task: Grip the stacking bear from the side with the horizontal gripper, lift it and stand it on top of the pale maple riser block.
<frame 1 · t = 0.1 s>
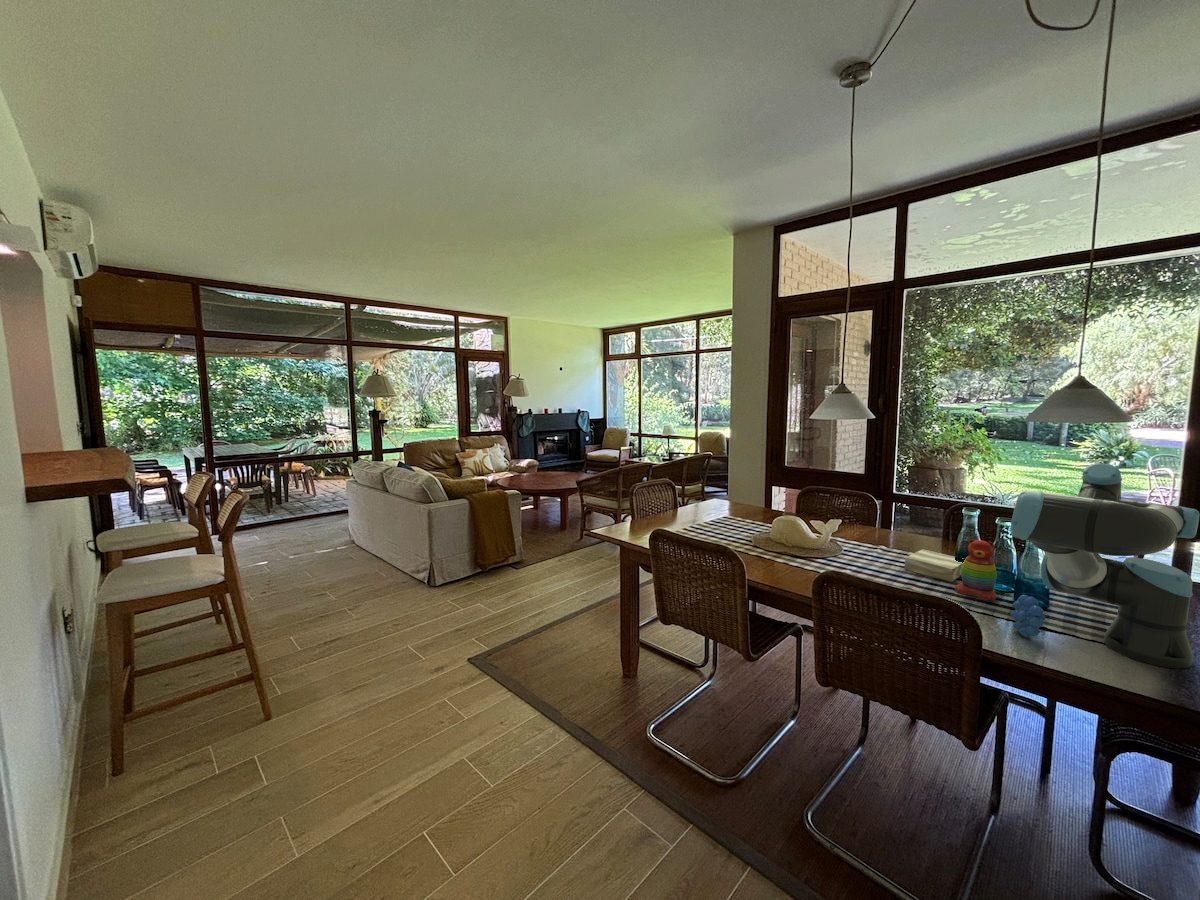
hand: (1104, 557, 151), 15 cm above the table, tool tilted 35°, fingers open, 13 cm apart
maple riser: (935, 571, 182), on the table
stacking bear: (976, 593, 162), on the table
grapes: (1028, 637, 134), on the table
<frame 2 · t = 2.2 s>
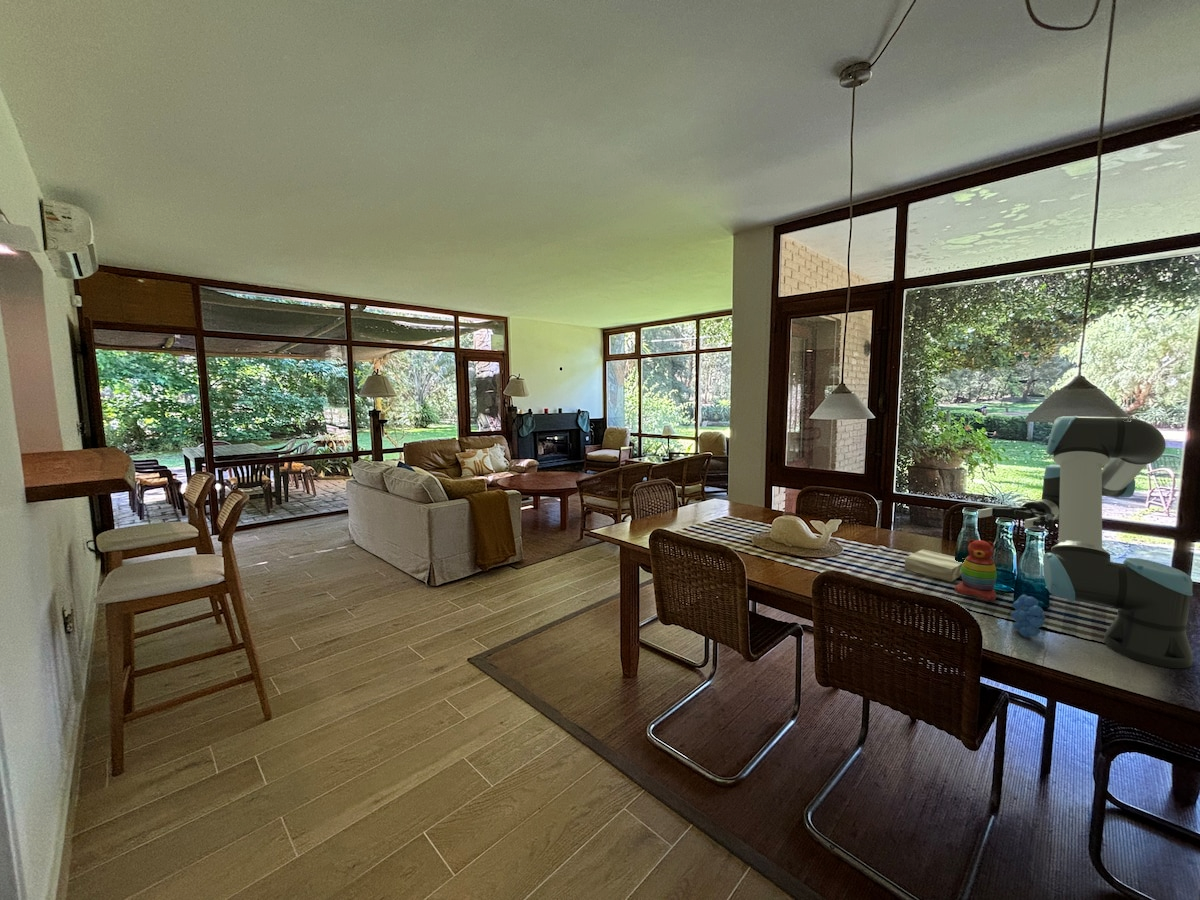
hand: (1001, 518, 163), 24 cm above the table, tool horizontal, fingers open, 13 cm apart
nothing on the table moved.
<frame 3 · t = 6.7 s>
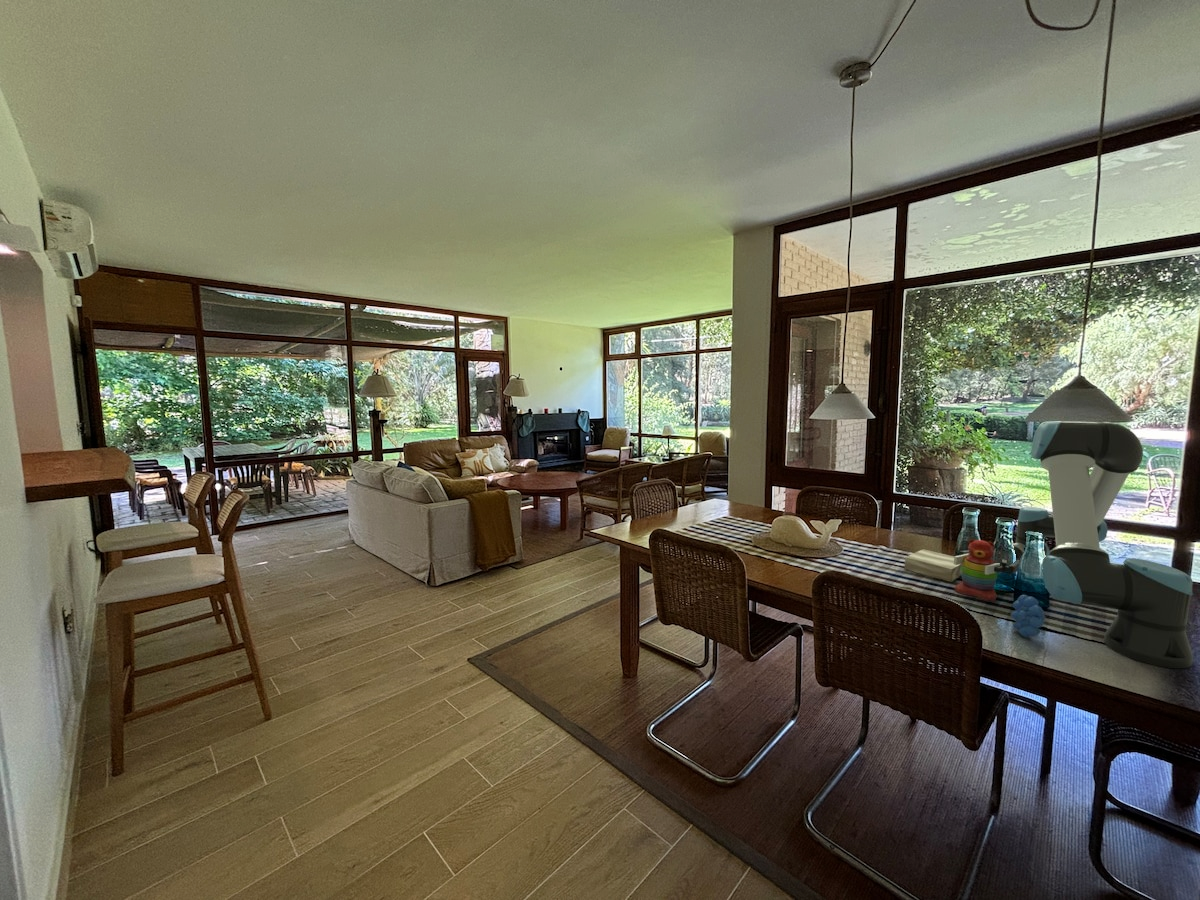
hand: (970, 565, 159), 10 cm above the table, tool horizontal, fingers closed on stacking bear, 9 cm apart
stacking bear: (976, 593, 162), on the table, touching gripper
everything else where it was.
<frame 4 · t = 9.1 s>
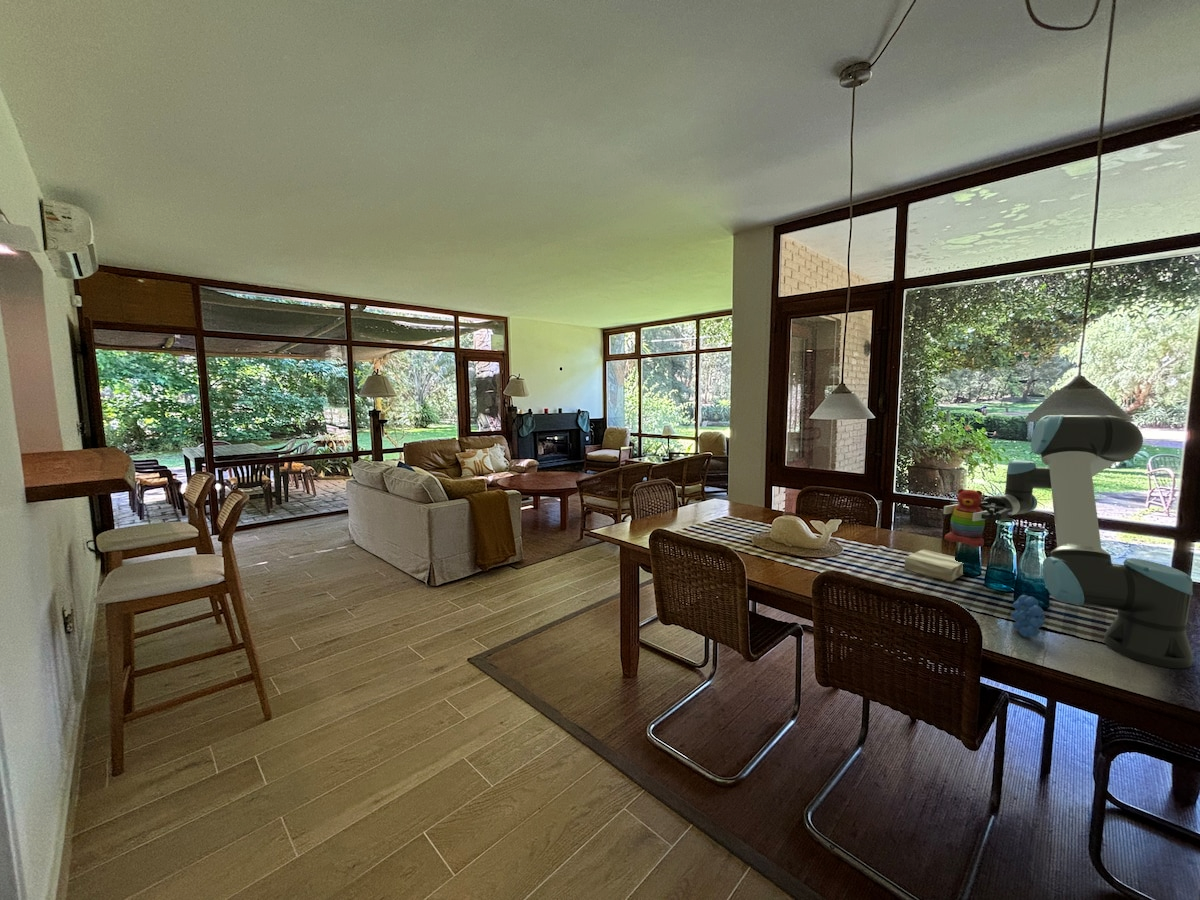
hand: (958, 513, 165), 25 cm above the table, tool horizontal, fingers closed on stacking bear, 9 cm apart
stacking bear: (965, 540, 168), point 15 cm above the table, touching gripper
everything else where it was.
when the fingers open (16 cm above the table, at t = 11.7 s): stacking bear drops 2 cm, resting on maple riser.
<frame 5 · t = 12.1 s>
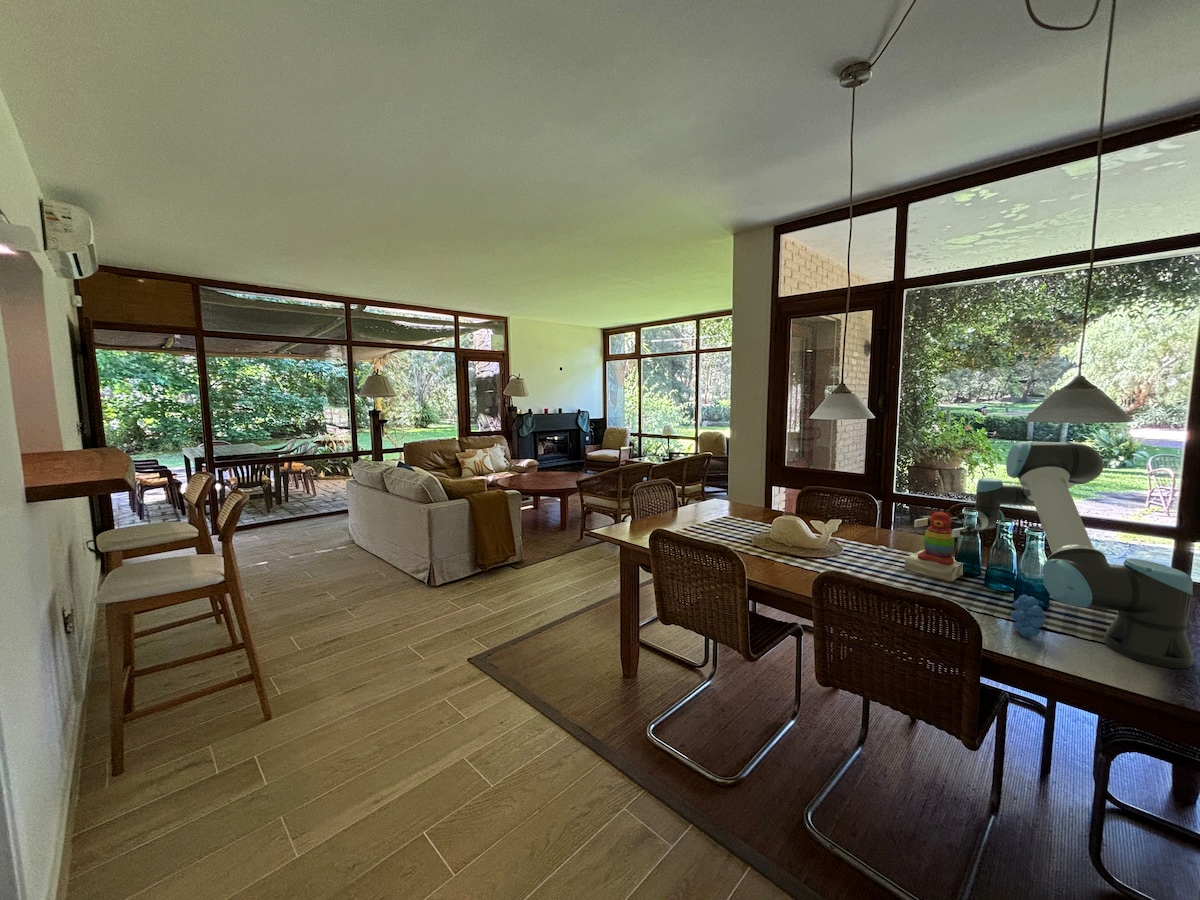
hand: (933, 528, 178), 16 cm above the table, tool horizontal, fingers open, 13 cm apart
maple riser: (935, 571, 182), on the table, touching stacking bear
stacking bear: (937, 559, 181), point 4 cm above the table, touching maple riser
everything else where it was.
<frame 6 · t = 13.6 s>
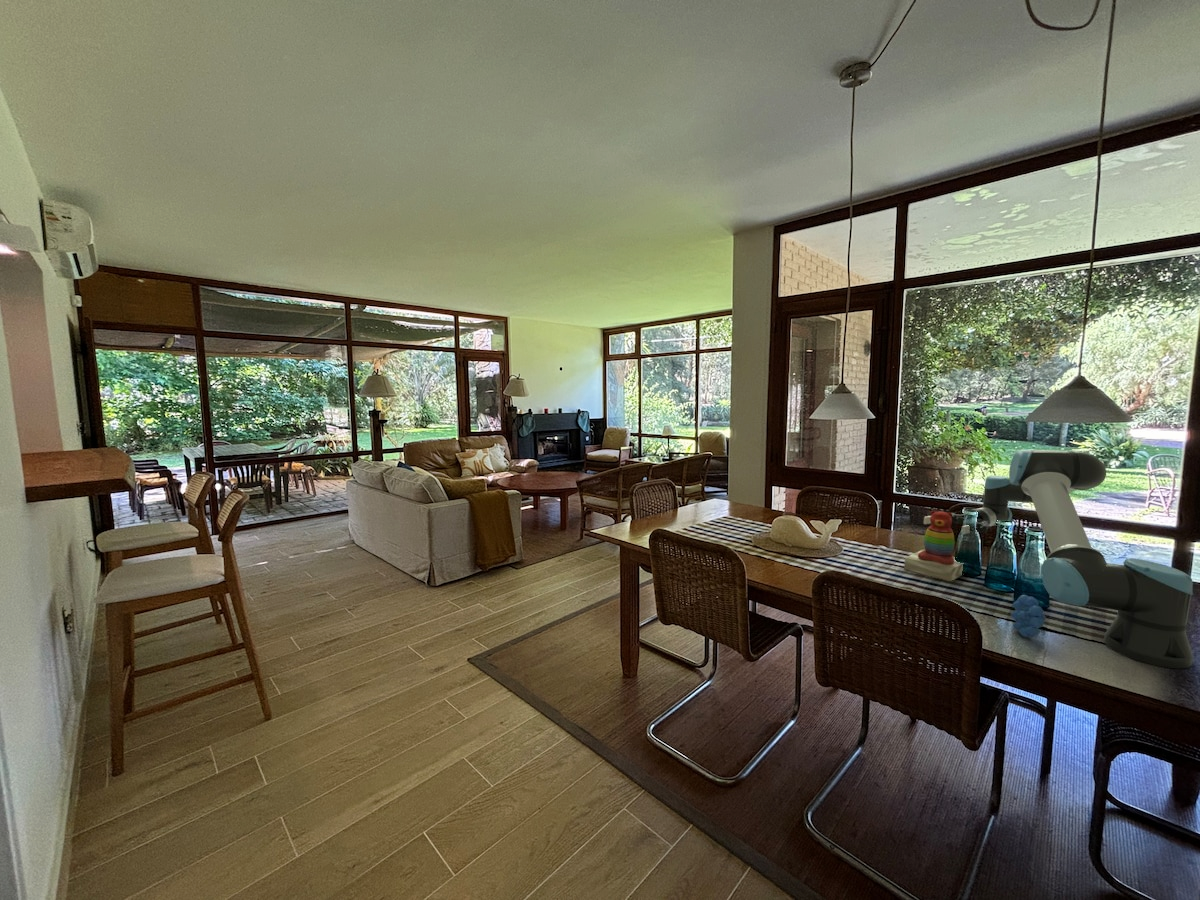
hand: (943, 525, 181), 17 cm above the table, tool horizontal, fingers open, 13 cm apart
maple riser: (935, 571, 182), on the table
stacking bear: (937, 559, 181), point 4 cm above the table
everything else where it was.
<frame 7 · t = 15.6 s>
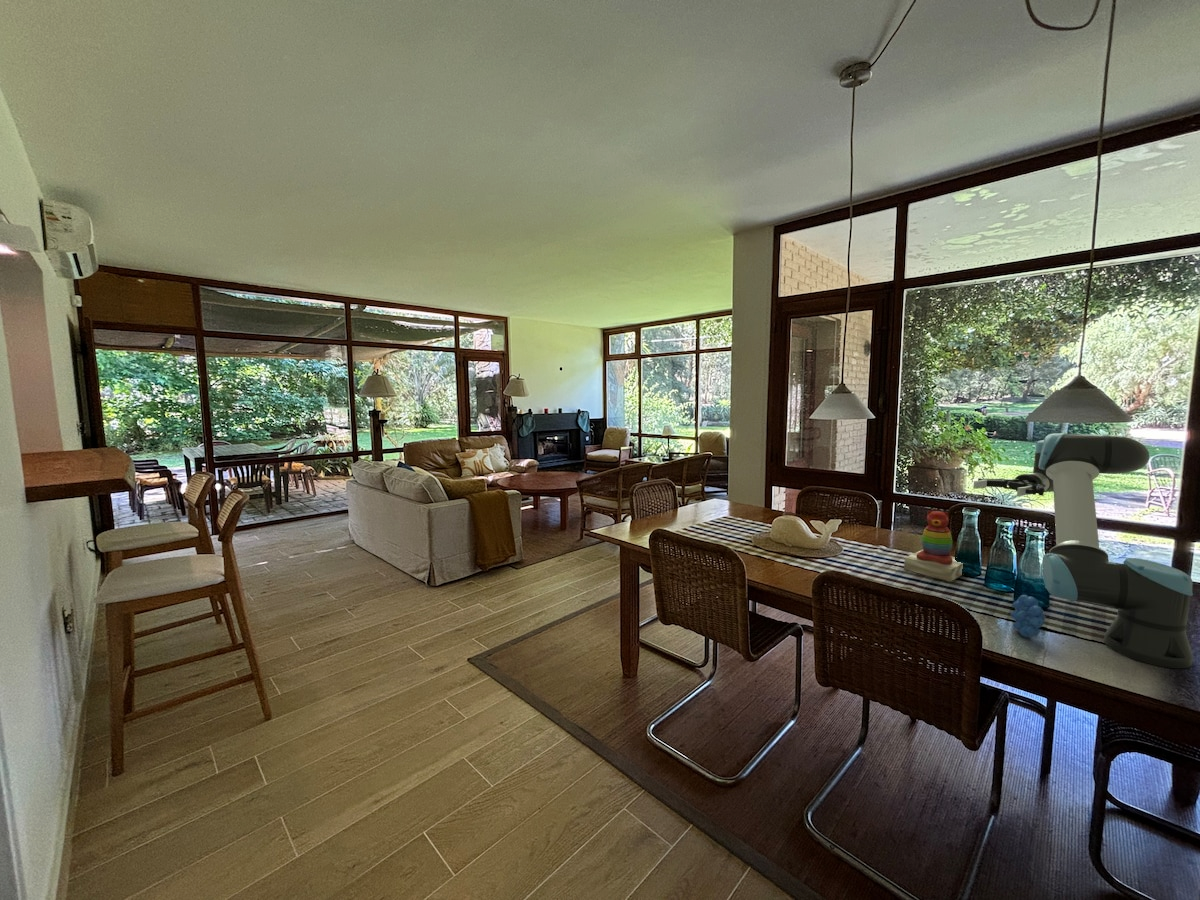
hand: (995, 488, 172), 32 cm above the table, tool horizontal, fingers open, 13 cm apart
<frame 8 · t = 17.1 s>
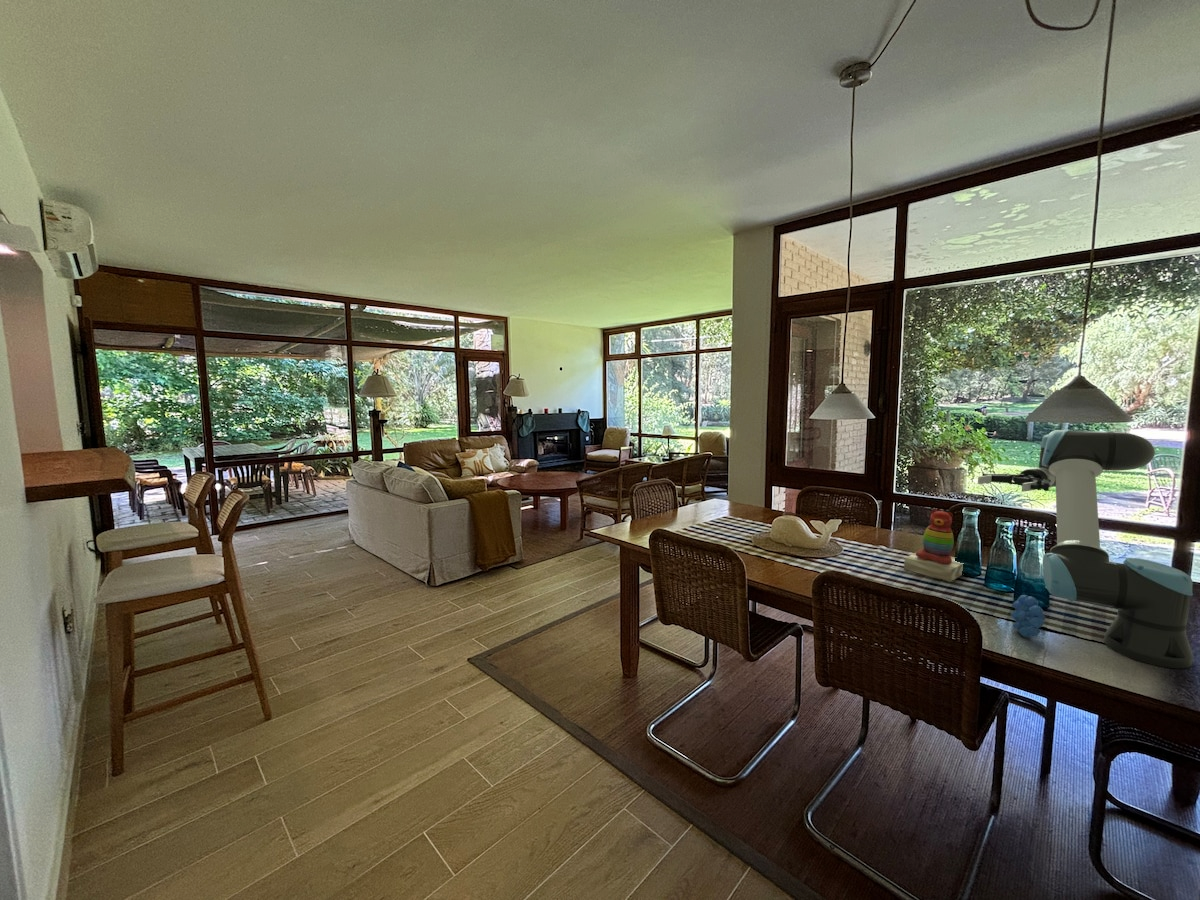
hand: (1000, 483, 171), 34 cm above the table, tool horizontal, fingers open, 13 cm apart
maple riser: (935, 572, 182), on the table, touching stacking bear
stacking bear: (935, 558, 181), point 4 cm above the table, touching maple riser
everything else where it was.
at the end: stacking bear inside the target area on the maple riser (0.6 cm from its centre), point 5.1 cm above the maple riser's base; stacking bear tilted 3°; the gripper is holding nothing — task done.
